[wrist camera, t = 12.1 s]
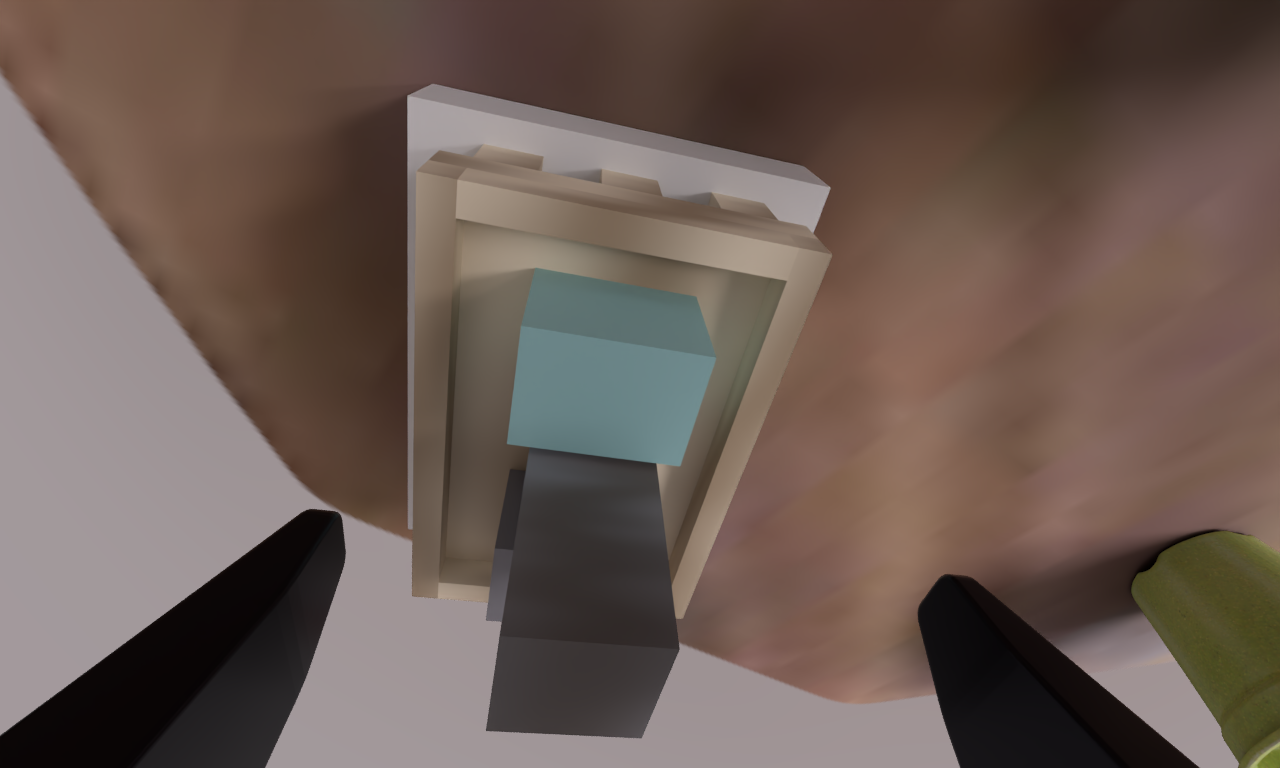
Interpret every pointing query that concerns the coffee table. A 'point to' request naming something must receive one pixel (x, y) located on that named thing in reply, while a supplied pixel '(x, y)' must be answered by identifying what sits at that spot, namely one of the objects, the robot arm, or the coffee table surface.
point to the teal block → (609, 369)
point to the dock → (590, 168)
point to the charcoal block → (505, 545)
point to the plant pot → (1223, 633)
